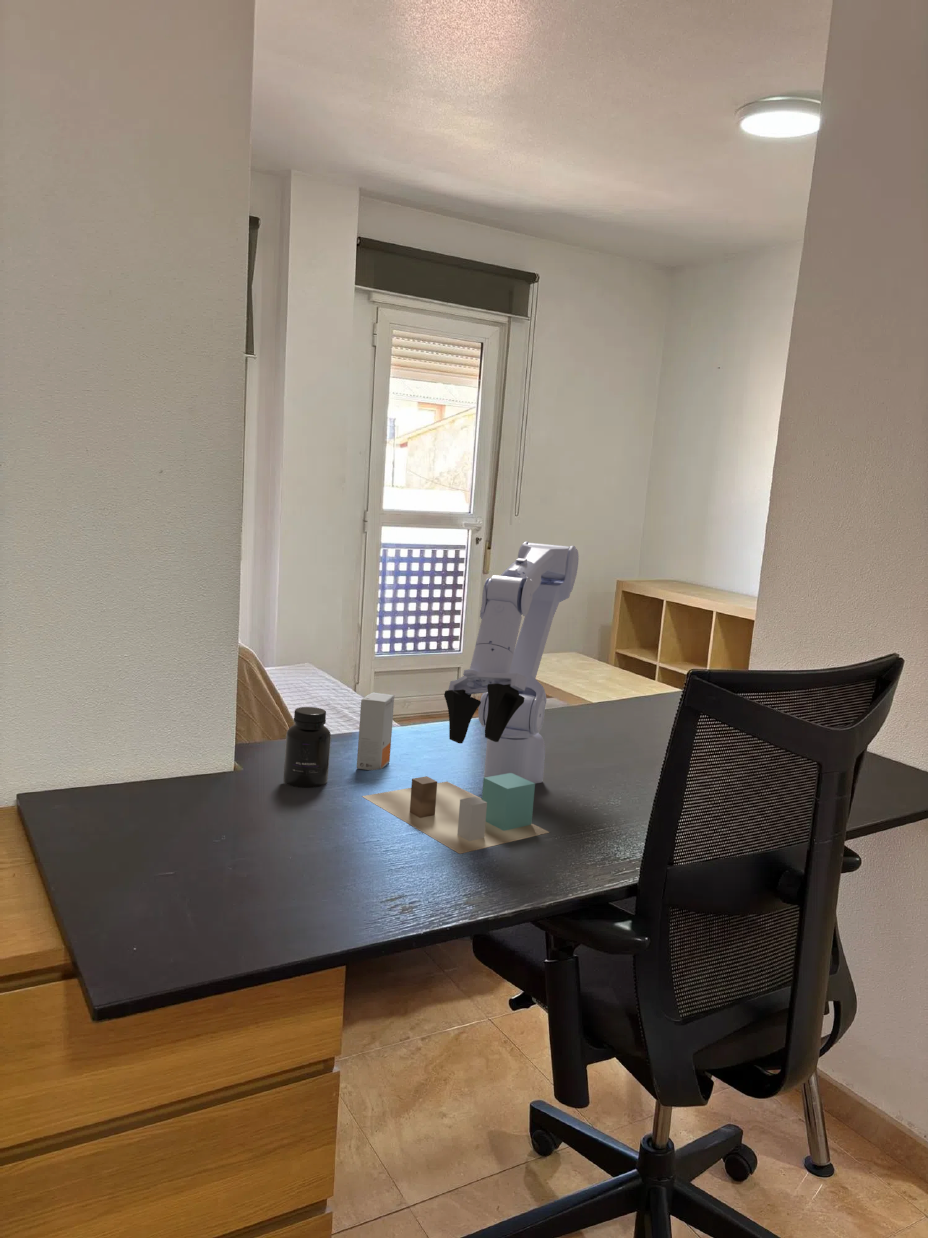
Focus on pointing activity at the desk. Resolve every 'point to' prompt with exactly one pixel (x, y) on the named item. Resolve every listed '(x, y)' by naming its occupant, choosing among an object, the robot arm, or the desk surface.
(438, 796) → the board
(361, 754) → the skincare box
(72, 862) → the desk surface
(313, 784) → the supplement bottle
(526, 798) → the teal green block
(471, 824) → the grey post
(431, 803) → the walnut post
